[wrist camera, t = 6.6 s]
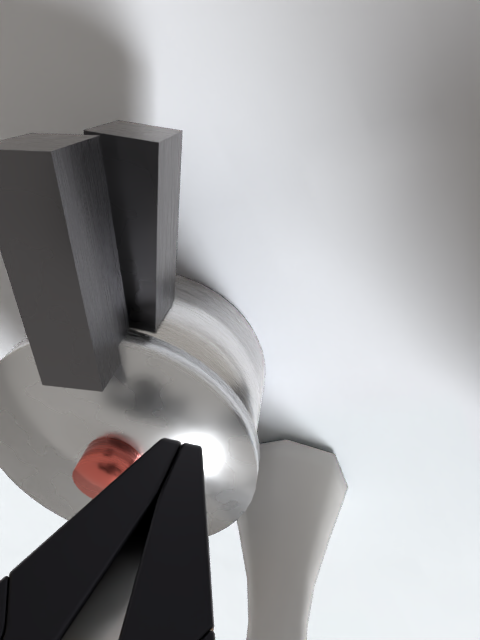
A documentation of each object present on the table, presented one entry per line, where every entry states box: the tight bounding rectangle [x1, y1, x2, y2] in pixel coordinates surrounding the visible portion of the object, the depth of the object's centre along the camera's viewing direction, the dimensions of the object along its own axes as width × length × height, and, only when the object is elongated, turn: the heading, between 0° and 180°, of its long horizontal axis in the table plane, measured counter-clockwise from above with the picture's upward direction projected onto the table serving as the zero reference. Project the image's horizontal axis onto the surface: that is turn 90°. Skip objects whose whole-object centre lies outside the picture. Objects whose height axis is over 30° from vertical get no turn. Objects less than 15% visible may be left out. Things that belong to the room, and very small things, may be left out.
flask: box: [237, 439, 348, 640], centre depth 21 cm, size 7×7×10 cm
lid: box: [0, 133, 260, 536], centre depth 15 cm, size 18×12×2 cm, turn 0°
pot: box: [84, 120, 265, 431], centre depth 19 cm, size 20×11×5 cm, turn 173°
